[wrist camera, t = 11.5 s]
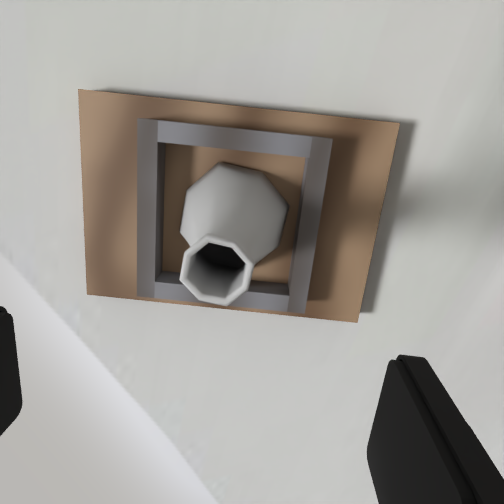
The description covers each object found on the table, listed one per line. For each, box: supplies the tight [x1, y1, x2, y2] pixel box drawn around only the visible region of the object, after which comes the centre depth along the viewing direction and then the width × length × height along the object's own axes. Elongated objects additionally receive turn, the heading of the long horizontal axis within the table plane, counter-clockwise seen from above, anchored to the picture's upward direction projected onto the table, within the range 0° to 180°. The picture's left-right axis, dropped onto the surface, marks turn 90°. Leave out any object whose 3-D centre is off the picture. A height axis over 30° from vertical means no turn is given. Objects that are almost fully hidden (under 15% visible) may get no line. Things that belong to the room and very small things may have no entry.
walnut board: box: [78, 89, 400, 323], centre depth 26 cm, size 20×14×4 cm
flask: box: [179, 162, 290, 306], centre depth 21 cm, size 7×7×10 cm
